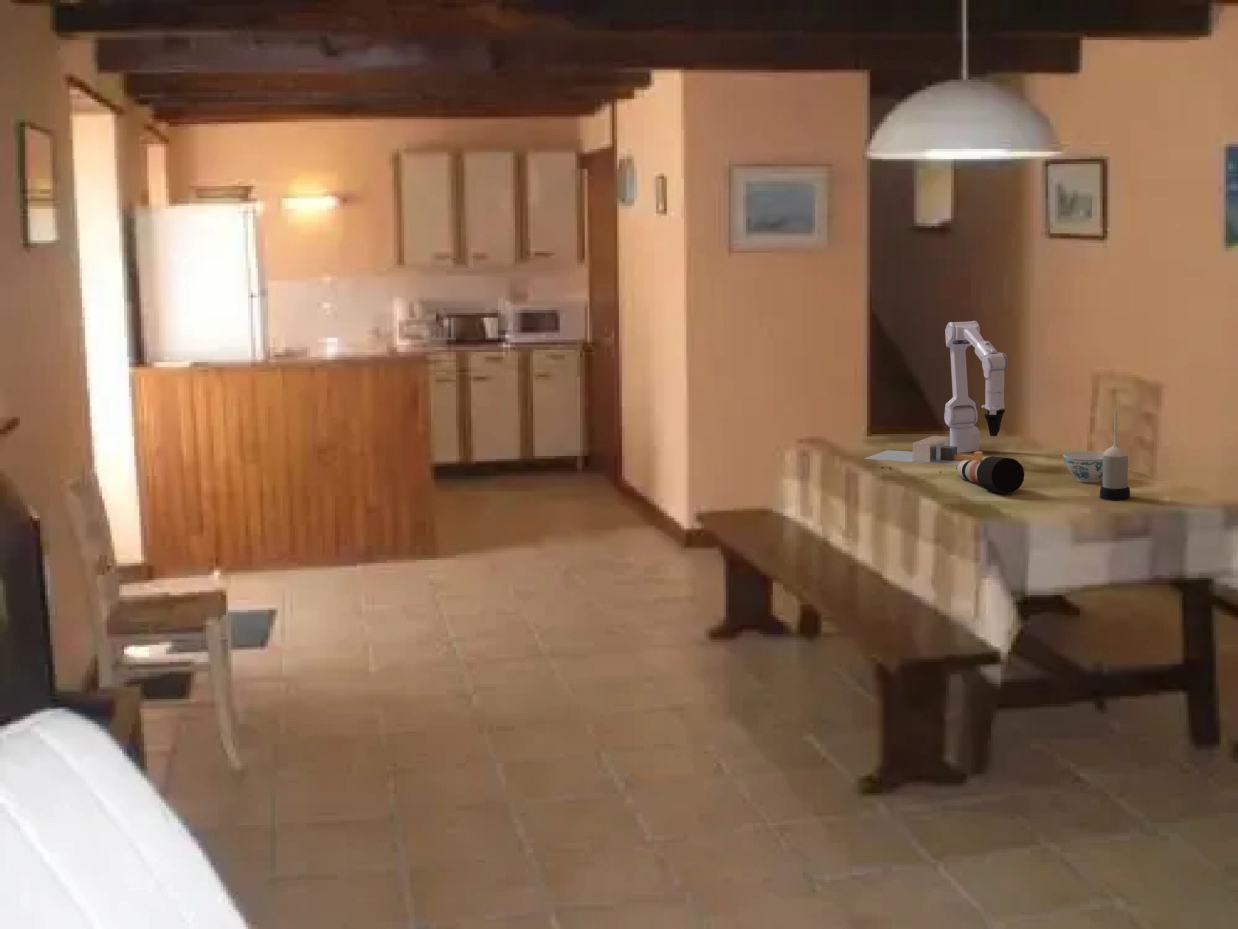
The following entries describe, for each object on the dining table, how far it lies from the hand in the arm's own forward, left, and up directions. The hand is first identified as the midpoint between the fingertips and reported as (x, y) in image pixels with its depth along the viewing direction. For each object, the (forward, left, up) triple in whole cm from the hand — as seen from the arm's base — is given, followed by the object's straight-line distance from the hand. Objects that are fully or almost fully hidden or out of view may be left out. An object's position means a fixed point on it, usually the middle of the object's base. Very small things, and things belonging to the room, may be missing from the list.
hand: (994, 434), depth 494 cm
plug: (+5, -10, -9) cm, 14 cm away
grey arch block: (+11, -19, -10) cm, 24 cm away
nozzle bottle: (+6, +61, -10) cm, 62 cm away
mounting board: (+11, -19, -10) cm, 24 cm away
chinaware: (-6, +37, -10) cm, 39 cm away
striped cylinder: (+24, +25, -10) cm, 37 cm away
